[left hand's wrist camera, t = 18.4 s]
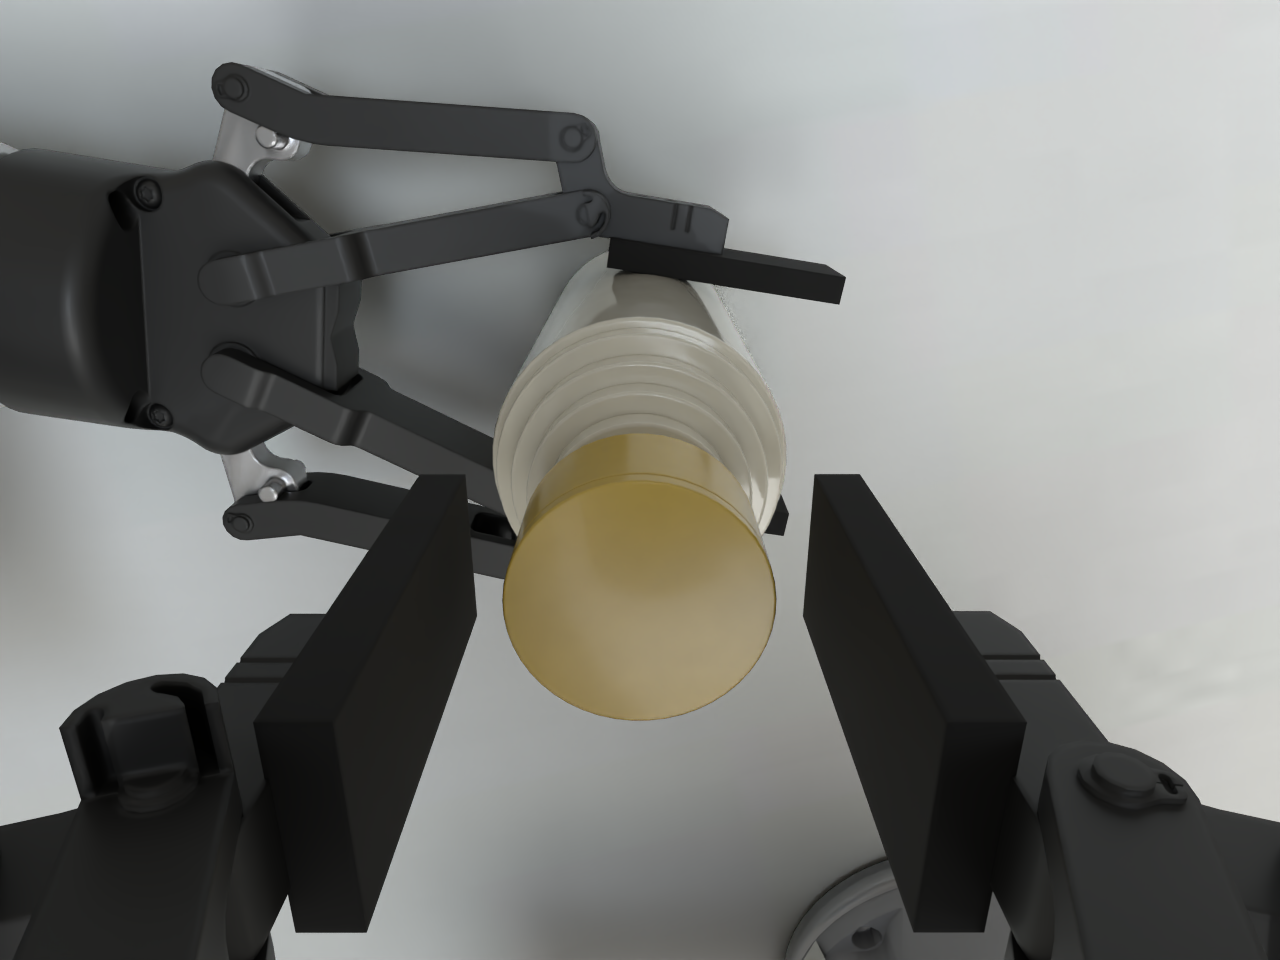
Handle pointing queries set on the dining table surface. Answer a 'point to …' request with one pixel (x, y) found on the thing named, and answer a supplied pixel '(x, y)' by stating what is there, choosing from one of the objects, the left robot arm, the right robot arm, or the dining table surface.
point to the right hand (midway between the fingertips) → (803, 400)
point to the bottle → (638, 385)
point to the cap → (639, 579)
